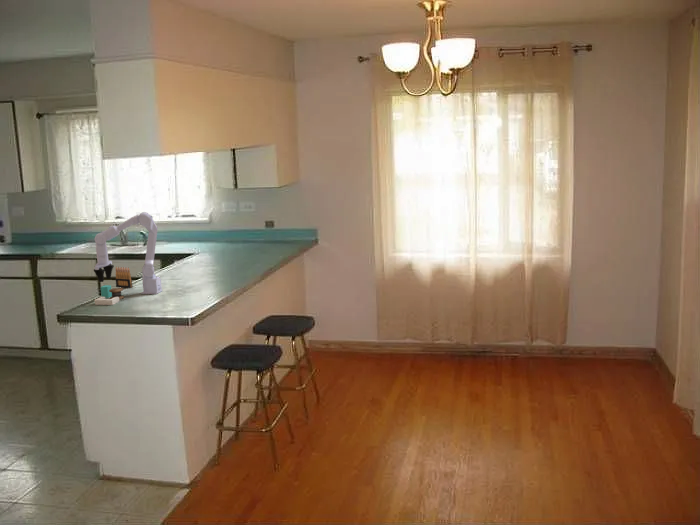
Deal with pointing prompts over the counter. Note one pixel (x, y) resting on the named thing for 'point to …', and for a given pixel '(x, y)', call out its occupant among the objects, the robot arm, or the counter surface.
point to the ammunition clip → (123, 278)
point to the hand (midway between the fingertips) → (105, 280)
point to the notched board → (106, 301)
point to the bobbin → (116, 293)
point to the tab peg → (106, 291)
